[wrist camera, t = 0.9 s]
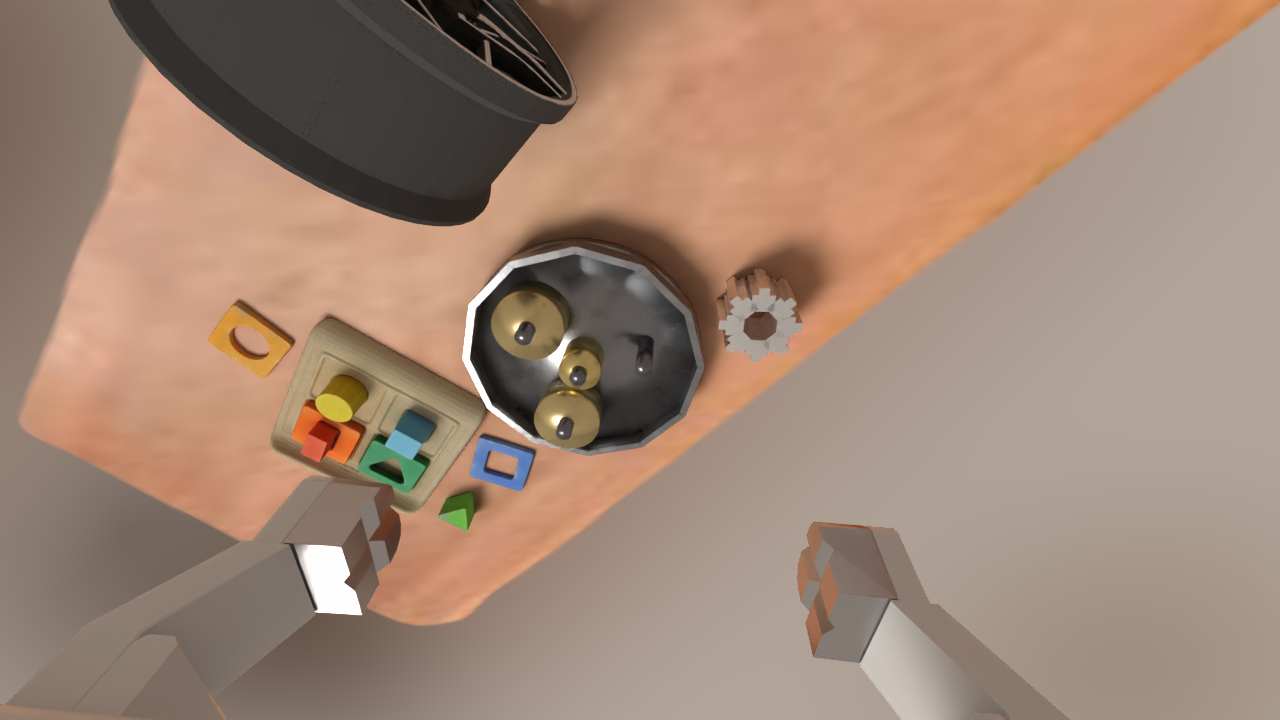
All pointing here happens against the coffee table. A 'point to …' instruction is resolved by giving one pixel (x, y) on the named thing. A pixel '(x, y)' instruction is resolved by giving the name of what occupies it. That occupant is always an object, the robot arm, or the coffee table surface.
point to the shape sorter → (372, 415)
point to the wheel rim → (366, 90)
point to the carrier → (584, 346)
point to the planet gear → (768, 328)
